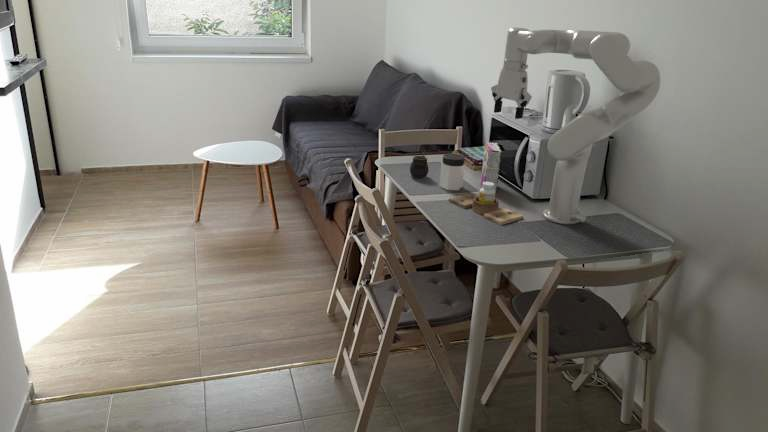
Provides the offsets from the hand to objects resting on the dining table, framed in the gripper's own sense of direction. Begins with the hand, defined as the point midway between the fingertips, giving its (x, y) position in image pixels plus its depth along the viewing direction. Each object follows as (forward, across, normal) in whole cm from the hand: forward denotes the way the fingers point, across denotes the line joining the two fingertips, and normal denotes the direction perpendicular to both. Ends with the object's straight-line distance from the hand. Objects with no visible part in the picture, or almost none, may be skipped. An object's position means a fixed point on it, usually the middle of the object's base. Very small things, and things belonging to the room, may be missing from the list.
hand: (507, 115), depth 223 cm
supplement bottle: (+31, -7, +14) cm, 34 cm away
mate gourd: (+31, +31, +11) cm, 45 cm away
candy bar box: (+31, +8, -4) cm, 32 cm away
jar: (+31, +16, +8) cm, 35 cm away
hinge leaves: (+30, -7, +14) cm, 34 cm away
